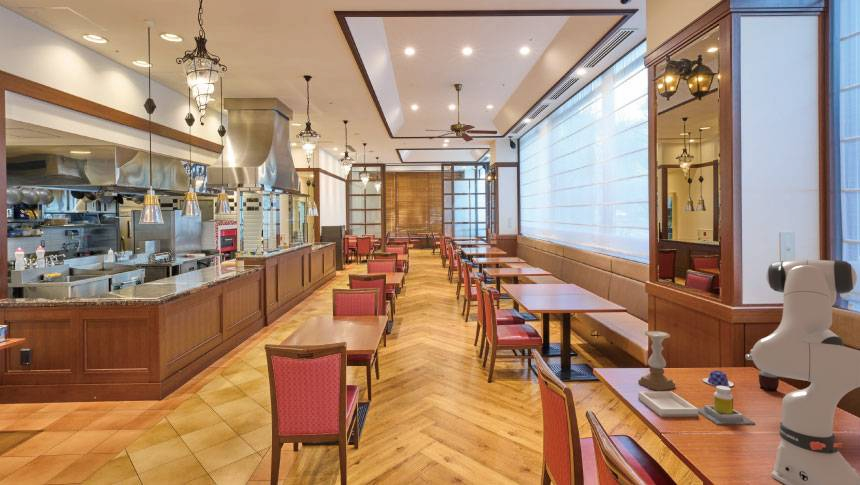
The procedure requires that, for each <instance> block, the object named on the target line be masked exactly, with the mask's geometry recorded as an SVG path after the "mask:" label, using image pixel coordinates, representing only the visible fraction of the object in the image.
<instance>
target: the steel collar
mask: <svg viewBox="0 0 860 485" xmlns="http://www.w3.org/2000/svg"><path fill="white" fill-rule="evenodd" d="M697 408H698V414H700V415H701V416H703V417H705V418H706V419H707V420H709V421H710V422H712V423H714V424H715V425H716V426H720V425H721V426H723V425H725V426H733V425H734V426H735V425H741V426H742V425H743V426H747V425H752V426H753V425H754V426H755V425H756V422H754V421H753V420H751V419H750V418H748V417H746V416H744V414H743V413H740V412H739V411H737V410H736V409H734V408H733V414H719V413H718V412H716V411H714V410H713V408H714V404H712V405H707V404H706V405H704V407H697Z"/></svg>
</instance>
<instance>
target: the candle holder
mask: <svg viewBox="0 0 860 485" xmlns="http://www.w3.org/2000/svg"><path fill="white" fill-rule="evenodd" d="M670 334H671V333H668V332H665V331H659V330H647V331H645V332H644V335H645V336H646V337H648V338H649V337H650V339H651V341H652V344H651V346H650V348H651V351H652V353H651V355H650V357H649V358H648V360H647V364H648V366H650V367H649V369H648V370H649V372H650V373H648V374H647V375H643V376H641V377H640V379H638V382H637V384H638V385H640V386H643V387H646V388H649V389H651V390H653V391H668V390H671V389H676V383H675V382H674V381H673V380H672V379H671V378H668V377H667V376H665V375H664V374H665V369H664V368H665V367H666V365H667V362H666V360H665V358H664V356H663V355H662V352H663V350H664V346H663V345H662V343H663V341H664V339H668V338H670V337H671V335H670Z"/></svg>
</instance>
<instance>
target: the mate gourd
mask: <svg viewBox="0 0 860 485" xmlns="http://www.w3.org/2000/svg"><path fill="white" fill-rule="evenodd" d="M758 383H759V385H760V386H759V389H762V390H765V392H766V393H767V392H770V391H771V392H775V393H777V392H778V389H779V388H778V387H779V383H780V377H779V376H776V375H773V374H769V373H766V372H763V371H761V370H760V371H759V374H758Z"/></svg>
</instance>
